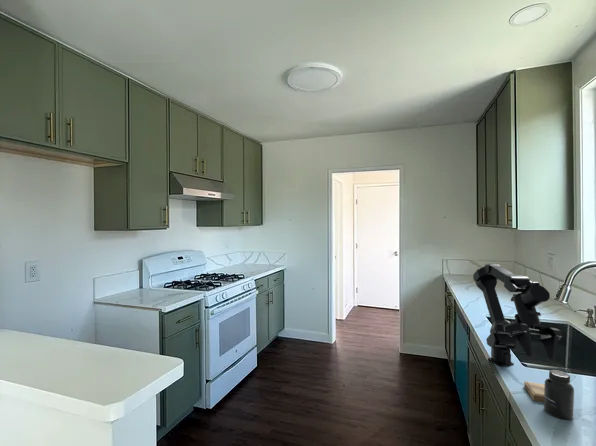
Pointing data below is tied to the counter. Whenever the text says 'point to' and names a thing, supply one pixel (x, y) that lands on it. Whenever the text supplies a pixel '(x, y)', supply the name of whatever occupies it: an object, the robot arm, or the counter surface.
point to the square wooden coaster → (535, 390)
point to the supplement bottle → (559, 395)
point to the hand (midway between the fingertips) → (541, 358)
